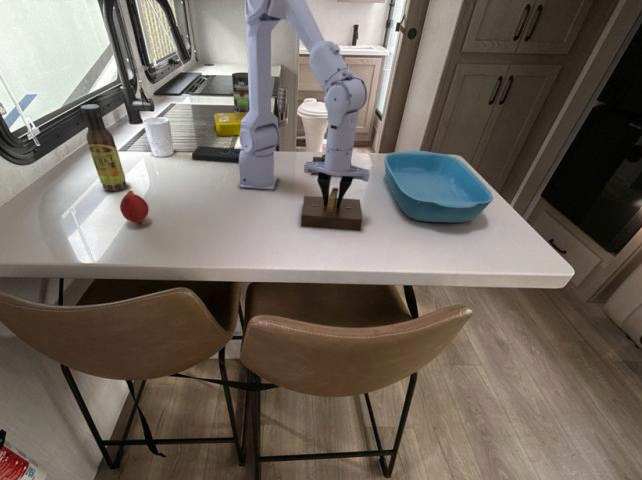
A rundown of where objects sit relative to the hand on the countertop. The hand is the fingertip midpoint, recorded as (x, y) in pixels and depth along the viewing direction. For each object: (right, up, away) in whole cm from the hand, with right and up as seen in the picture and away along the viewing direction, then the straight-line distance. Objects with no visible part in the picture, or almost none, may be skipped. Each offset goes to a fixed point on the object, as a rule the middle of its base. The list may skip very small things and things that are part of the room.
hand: (332, 205), depth 80 cm
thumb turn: (0, 0, 0) cm, 0 cm away
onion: (-46, -5, -2) cm, 46 cm away
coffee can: (-30, +63, +71) cm, 99 cm away
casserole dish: (+27, +5, +12) cm, 30 cm away
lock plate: (0, -2, +2) cm, 3 cm away
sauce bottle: (-58, +8, +12) cm, 60 cm away
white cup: (-52, +26, +31) cm, 66 cm away
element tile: (-31, +44, +51) cm, 75 cm away
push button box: (+3, +18, +24) cm, 30 cm away
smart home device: (-31, +24, +30) cm, 50 cm away
